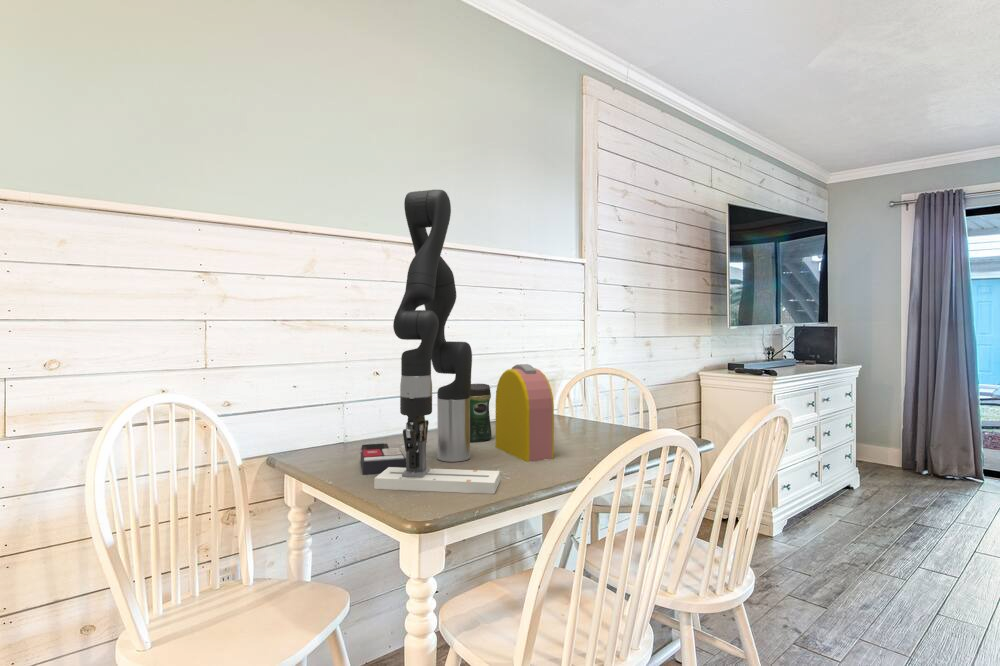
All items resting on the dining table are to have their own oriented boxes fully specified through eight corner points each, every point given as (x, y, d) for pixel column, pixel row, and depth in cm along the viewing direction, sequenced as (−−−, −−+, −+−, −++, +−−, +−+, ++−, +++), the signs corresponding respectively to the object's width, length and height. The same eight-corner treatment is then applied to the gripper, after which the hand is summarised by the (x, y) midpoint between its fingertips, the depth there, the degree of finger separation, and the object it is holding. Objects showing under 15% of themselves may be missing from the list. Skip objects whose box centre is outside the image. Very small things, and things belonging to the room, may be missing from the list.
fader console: (388, 477, 137) (388, 466, 137) (500, 481, 133) (500, 470, 133) (374, 488, 127) (374, 477, 127) (494, 493, 123) (494, 482, 123)
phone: (387, 443, 172) (390, 454, 158) (387, 446, 172) (390, 457, 158) (361, 444, 170) (362, 455, 156) (361, 448, 170) (362, 459, 156)
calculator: (400, 446, 156) (406, 456, 142) (400, 461, 156) (406, 472, 142) (360, 449, 153) (362, 458, 139) (360, 464, 153) (362, 476, 139)
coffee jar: (485, 436, 187) (485, 382, 187) (494, 440, 180) (494, 384, 180) (458, 438, 183) (458, 383, 183) (466, 443, 176) (466, 385, 176)
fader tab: (409, 469, 134) (409, 437, 134) (429, 470, 133) (429, 438, 133) (401, 476, 128) (401, 443, 128) (422, 477, 127) (422, 443, 127)
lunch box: (554, 458, 156) (554, 366, 156) (526, 462, 152) (526, 367, 152) (520, 444, 175) (520, 361, 175) (494, 446, 171) (494, 362, 171)
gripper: (409, 390, 138) (409, 458, 138) (391, 397, 124) (391, 473, 124) (438, 390, 137) (438, 459, 137) (423, 398, 123) (423, 475, 123)
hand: (416, 466), depth 131 cm, fingers closed on fader tab, 3 cm apart
